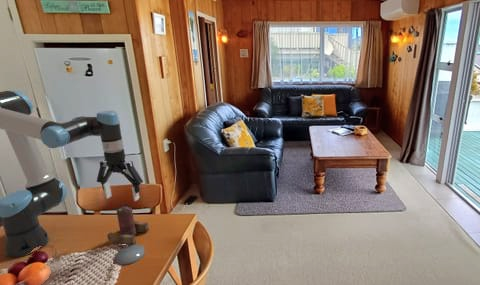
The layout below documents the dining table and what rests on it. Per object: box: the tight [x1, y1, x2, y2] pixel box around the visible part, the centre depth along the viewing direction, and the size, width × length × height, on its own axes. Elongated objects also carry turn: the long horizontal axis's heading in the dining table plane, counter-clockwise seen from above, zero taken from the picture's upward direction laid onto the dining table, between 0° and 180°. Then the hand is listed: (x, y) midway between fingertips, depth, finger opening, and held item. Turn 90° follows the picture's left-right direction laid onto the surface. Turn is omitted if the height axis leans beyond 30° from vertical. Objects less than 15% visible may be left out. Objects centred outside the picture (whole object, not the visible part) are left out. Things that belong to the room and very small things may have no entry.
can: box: [116, 204, 137, 237], centre depth 125 cm, size 6×6×14 cm
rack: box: [107, 220, 150, 246], centre depth 126 cm, size 12×12×4 cm
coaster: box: [114, 244, 146, 266], centre depth 115 cm, size 11×11×1 cm
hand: (122, 198), depth 122 cm, fingers open, 13 cm apart
